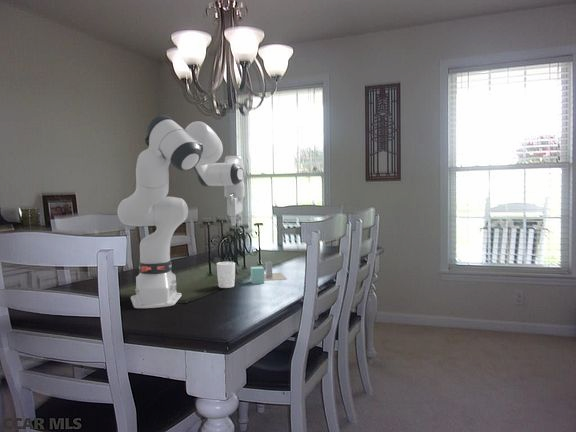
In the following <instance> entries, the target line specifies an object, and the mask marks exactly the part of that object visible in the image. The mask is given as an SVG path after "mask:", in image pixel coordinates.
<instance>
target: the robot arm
mask: <svg viewBox="0 0 576 432" xmlns="http://www.w3.org/2000/svg"><path fill="white" fill-rule="evenodd" d="M145 132H146V136H145V138H144V141H145V144H146V145H147V146H148V148H146V149H145V150H144V149H143V150H142V151H141V152H140V153H139V155H138V156H137V161H136V164H135V165H136V166H135V180H136V181H135V182H136V184H135V191H134V192H133V193H132V194H131V195H129V196H128V197H127V198H124V199H122V201H120V203H119V204H118V207H117V217H118V220H119V221H120V222H121V223H122V224H123V225H126V226H132V227H151V226H152V227H156V230H155V231H154V232H152V233H150V234H148V235H147V236H145V237H143V238H141V240H140V243H139V263H138V269H139V270H138V272H139V274H138V275H137V276H135V282H136V283H135V289H134V292H135V293H136V294H134V295H131V296H130V301H131V303H132V306H133V308H134V309H157V308H167V307H171V306H174V305H176V303H177V302H178V300H180V298H181V297H182V293H181V292H177V291H178V289H177V279H176V278H177V277H176V274H175V273H173V272H172V260H171V241H172V237H173V236H174V233H175V231H176V230H177V229H178V227H179V226H180V225H182V224H183V223H184V222H185V221H186V220H187V218H188V215H189V207H188V204H187V202H186V201H185V200H184V199H183V198H181V197H176V196H168V194H169V190H170V189H169V188H170V187H169V186H170V183H169V181H170V172H169V166H170V165H171V166H172V167H174V168H175V169H177V170H178V171H181V172H186V171H190V170H192V169H193V170H194V172H195V174H196V177H197V181H198V183H199V184H200V185H201V186H203V188H204V187H205V188H208V187H224V194H223V195H224V198H226V213H227V216H229V219H230V222H231V223H230V225H231V226H236V225H237V224H239V223H240V215H241V213H242V212H243V209H244V197H245V196H246V194H245V193H246V191H245V190H246V189H245V187H246V185H245V183H244V181H245V180H244V179H245V166H244V160H243V157H242V156H240V155H235V154H229V155H226V156H225V157H224V162H218V161H219V160H220V158H221V157H222V155H223V151H224V147H223V142H222V140H221V139H220V137H219V136H218V134H217V133H216V132H215V130H213V128H212V127H210V126H209V125H208V124H207V123H205V122H204V121H199V120H198V121H197V120H196V121H193V122H191V123H189V124H188V125H187V126H186V127H185V129H184V128H183V127H182V126H181V125H179V124H178V123H177V122H176V120H175V119H173V118H172V117H170V116H168V115H166V114H160V115H157V116H155V117H153V118H152V119H151V120H150V122H149V123H148V125H147V128H146V131H145Z"/></svg>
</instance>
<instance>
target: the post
mask: <svg viewBox="0 0 576 432" xmlns="http://www.w3.org/2000/svg"><path fill="white" fill-rule="evenodd" d="M287 279H288V278H287V277H286V276H285V275H283V273H282V272H273V262H272V261H265V273H264V282H265V281H278V280H279V281H280V280H281V281H282V280H287Z"/></svg>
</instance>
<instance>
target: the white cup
mask: <svg viewBox="0 0 576 432" xmlns="http://www.w3.org/2000/svg"><path fill="white" fill-rule="evenodd" d="M216 276H217V283H218V287H219V288H220V289H228V288H229V289H230V288H234V287H235V280H236V262H234V261H220V262H216Z"/></svg>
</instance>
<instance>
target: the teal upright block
mask: <svg viewBox="0 0 576 432" xmlns="http://www.w3.org/2000/svg"><path fill="white" fill-rule="evenodd" d="M264 274H265V268H264V267H263V265H262V266H250V282H251V283H252V285H257V284H258V285H259V284H265V281H264Z"/></svg>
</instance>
